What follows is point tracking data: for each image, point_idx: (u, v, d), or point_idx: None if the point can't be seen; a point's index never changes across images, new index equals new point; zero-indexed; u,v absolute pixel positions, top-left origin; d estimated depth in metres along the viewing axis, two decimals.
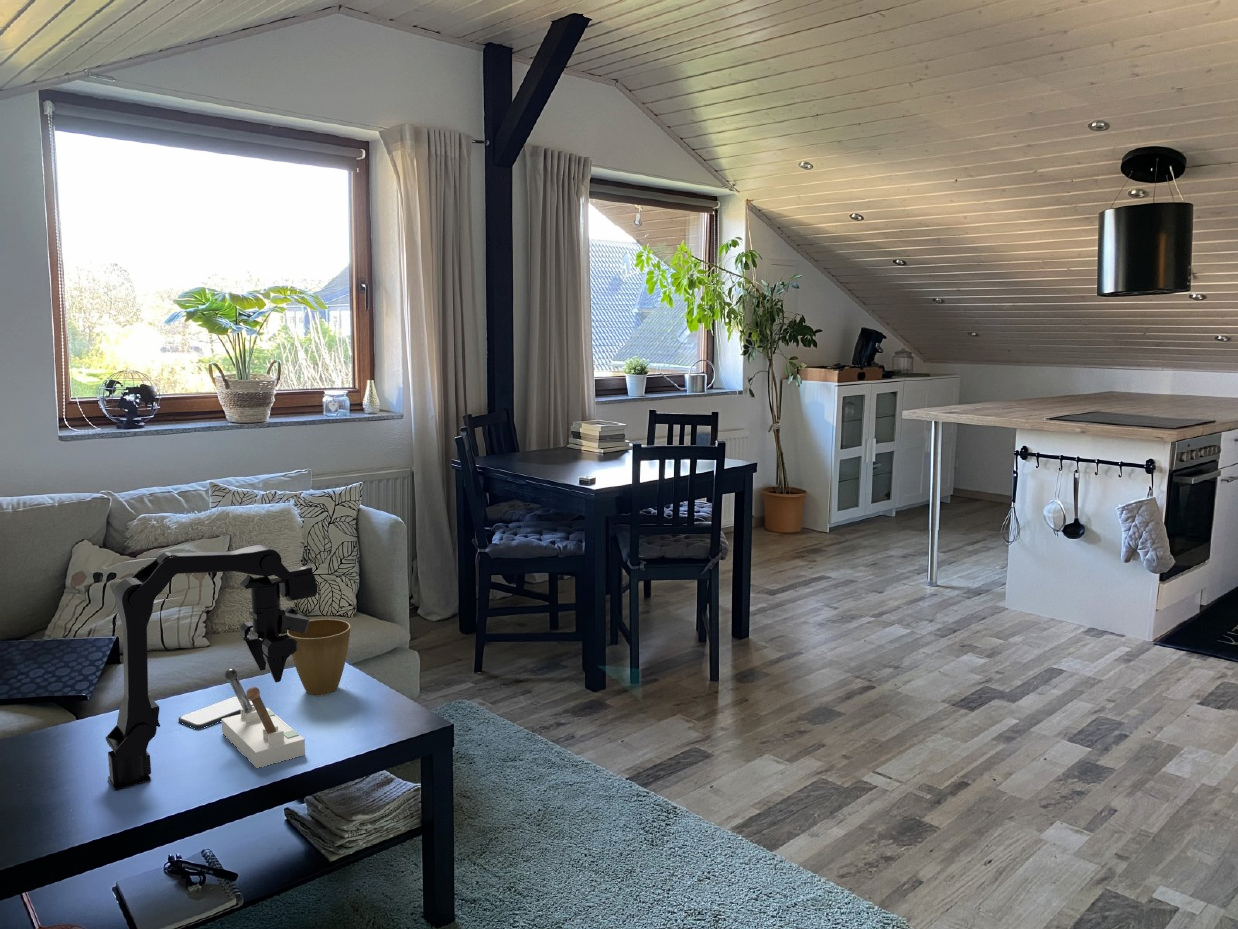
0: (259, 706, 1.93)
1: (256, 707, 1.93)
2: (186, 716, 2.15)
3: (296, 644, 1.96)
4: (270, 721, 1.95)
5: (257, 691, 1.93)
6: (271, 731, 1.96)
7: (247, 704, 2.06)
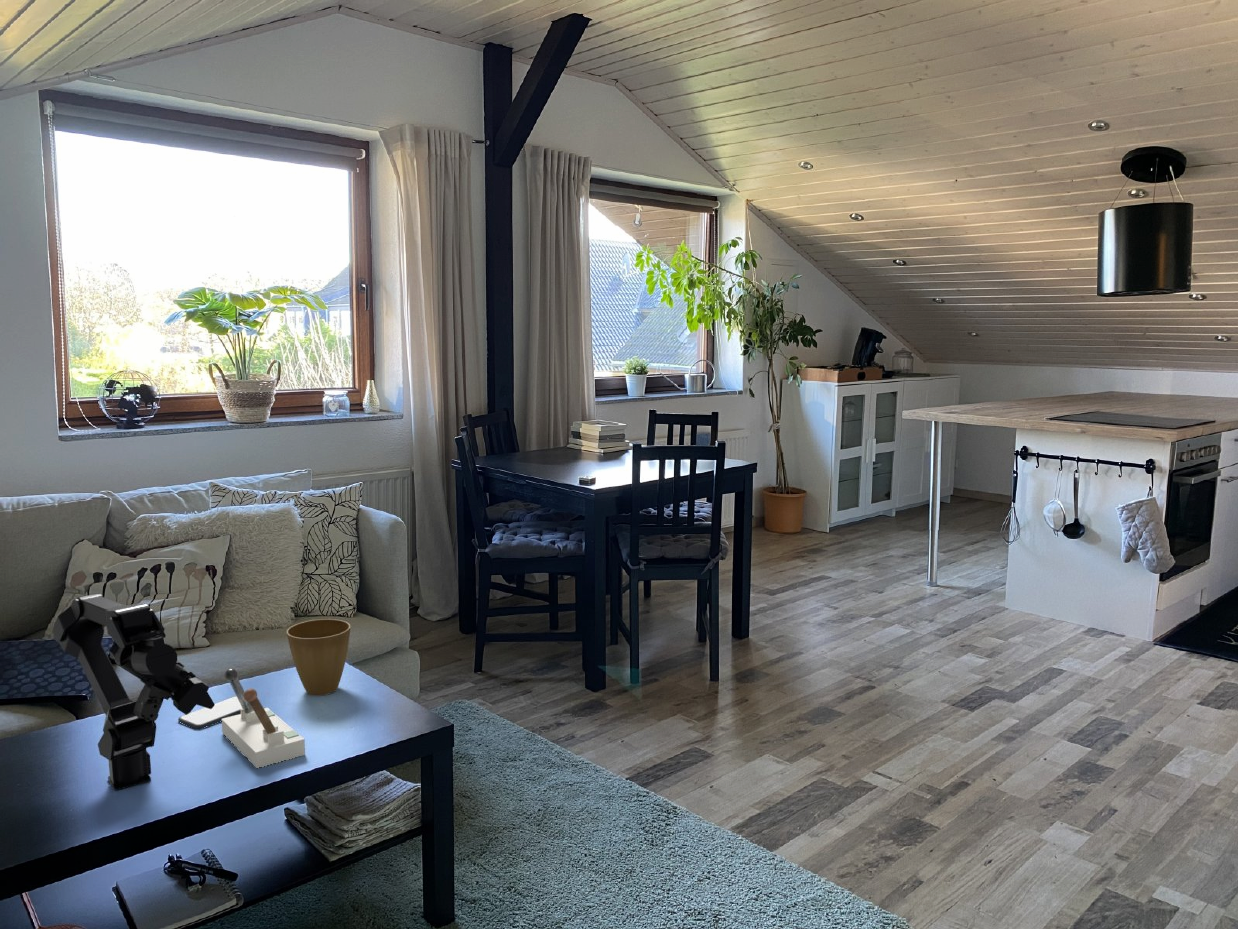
0: (257, 707, 1.93)
1: (254, 708, 1.93)
2: (185, 716, 2.15)
3: None
4: (269, 721, 1.95)
5: (254, 693, 1.92)
6: (271, 731, 1.95)
7: (247, 704, 2.06)
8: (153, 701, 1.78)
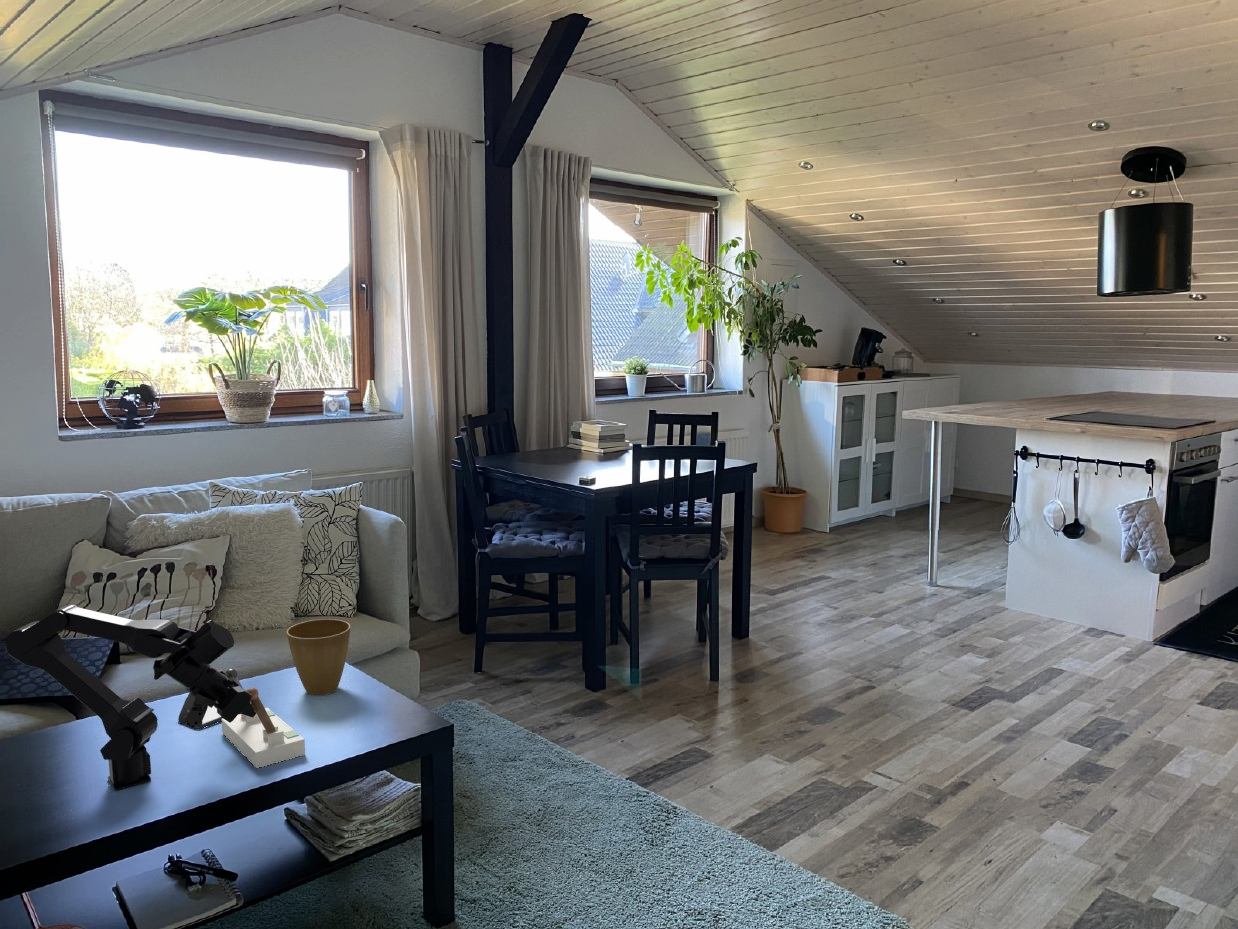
0: (258, 707, 1.93)
1: (255, 708, 1.93)
2: None
3: None
4: (270, 721, 1.95)
5: (256, 692, 1.92)
6: (271, 731, 1.95)
7: None
8: (198, 709, 1.82)
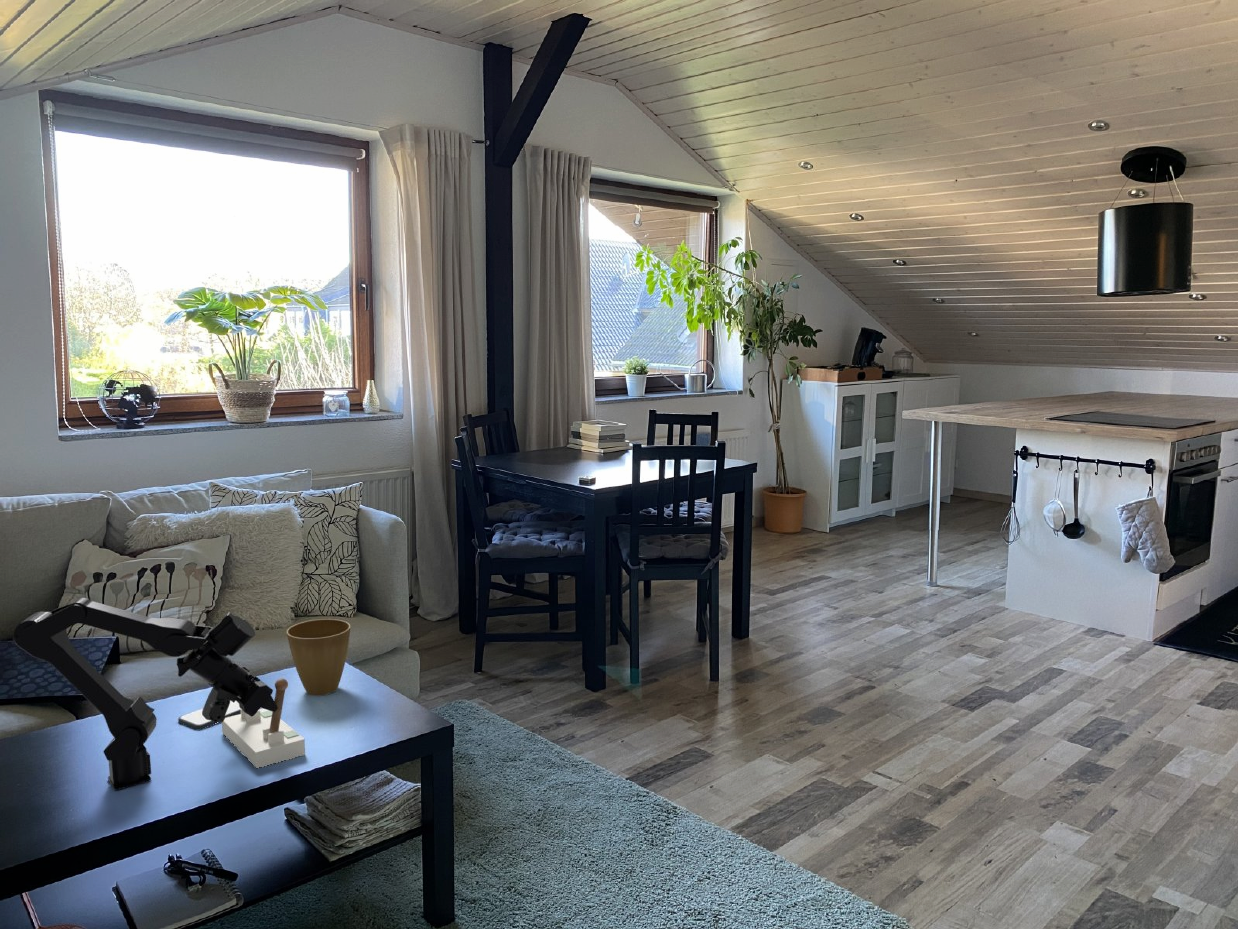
0: (280, 699, 1.96)
1: (276, 699, 1.96)
2: (185, 717, 2.15)
3: None
4: (279, 719, 1.97)
5: (286, 684, 1.96)
6: (275, 729, 1.96)
7: None
8: (220, 703, 1.85)
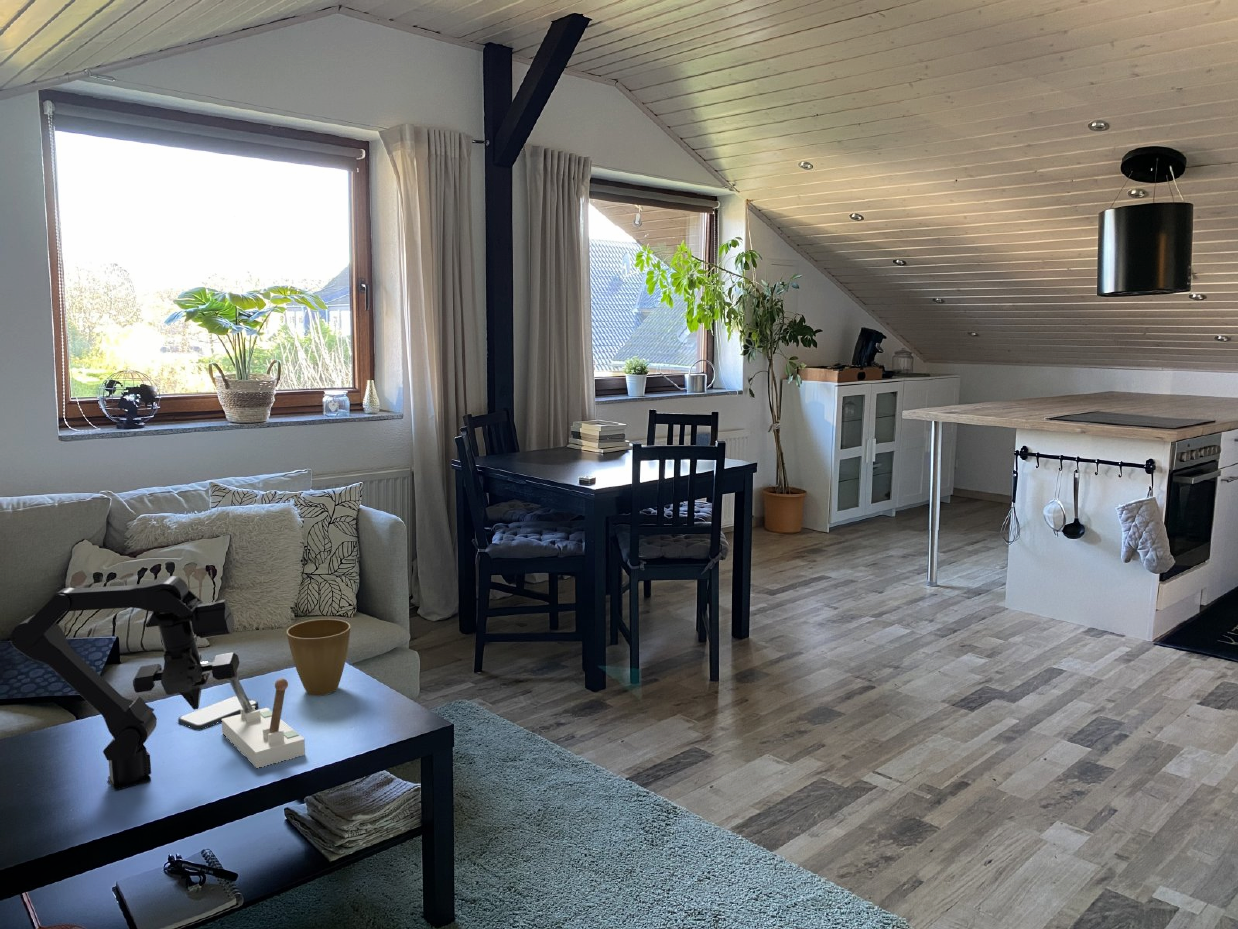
0: (280, 699, 1.96)
1: (276, 699, 1.96)
2: (185, 717, 2.15)
3: (133, 685, 1.83)
4: (279, 719, 1.97)
5: (286, 684, 1.96)
6: (275, 729, 1.96)
7: (247, 704, 2.06)
8: None
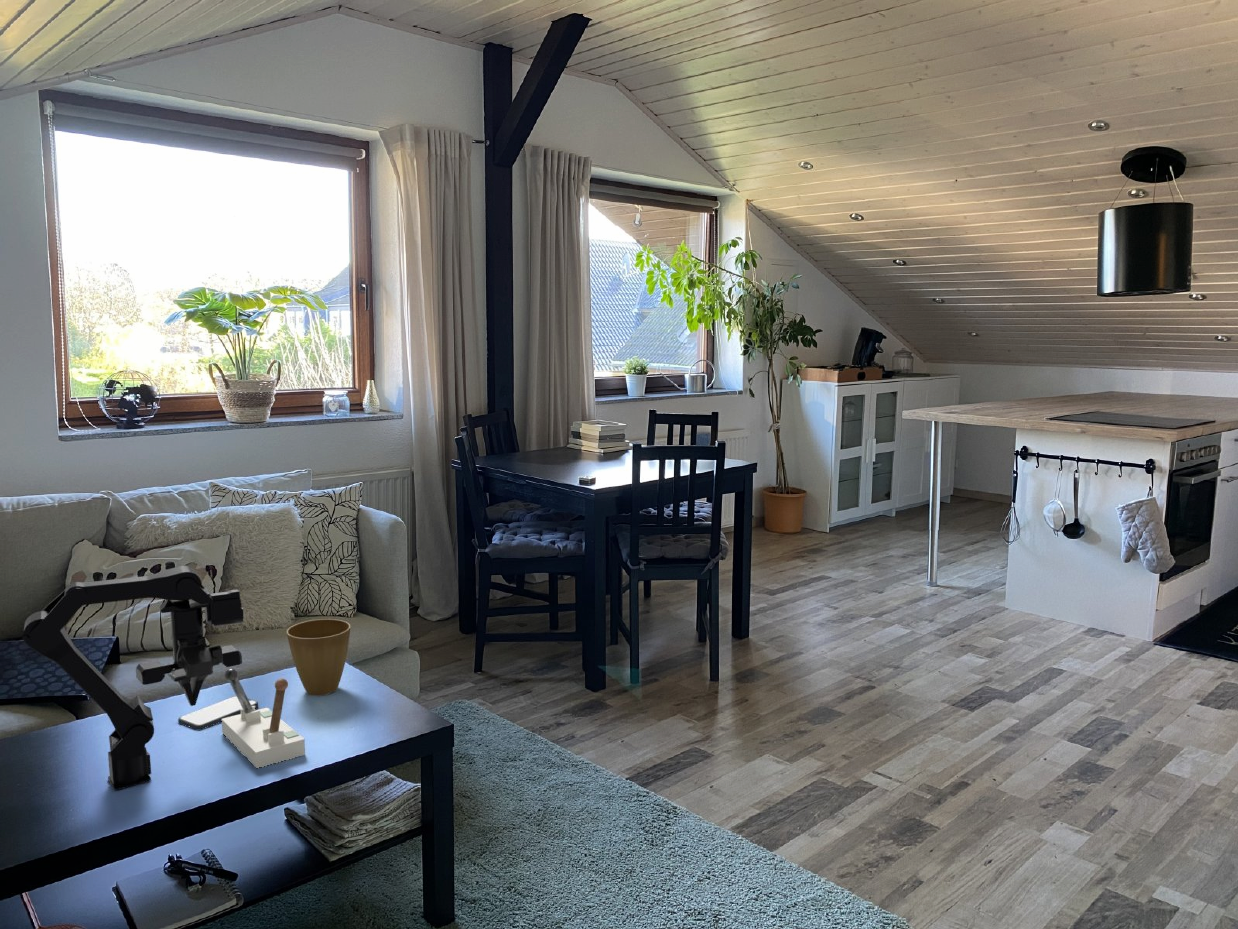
0: (280, 699, 1.96)
1: (276, 699, 1.96)
2: (185, 717, 2.15)
3: (143, 677, 1.82)
4: (279, 719, 1.97)
5: (286, 684, 1.96)
6: (275, 729, 1.96)
7: (247, 704, 2.06)
8: None
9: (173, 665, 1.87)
